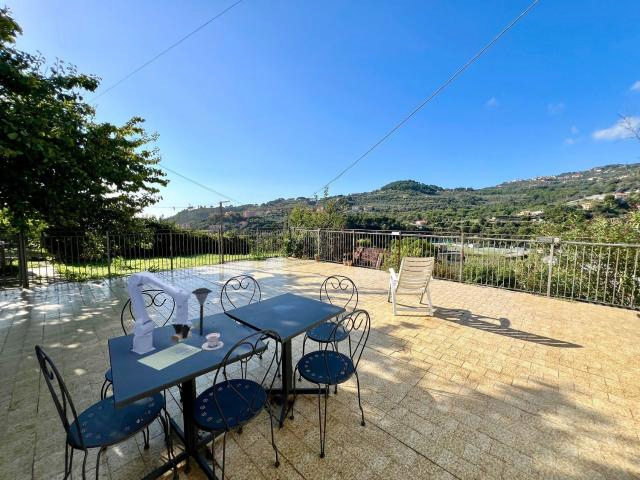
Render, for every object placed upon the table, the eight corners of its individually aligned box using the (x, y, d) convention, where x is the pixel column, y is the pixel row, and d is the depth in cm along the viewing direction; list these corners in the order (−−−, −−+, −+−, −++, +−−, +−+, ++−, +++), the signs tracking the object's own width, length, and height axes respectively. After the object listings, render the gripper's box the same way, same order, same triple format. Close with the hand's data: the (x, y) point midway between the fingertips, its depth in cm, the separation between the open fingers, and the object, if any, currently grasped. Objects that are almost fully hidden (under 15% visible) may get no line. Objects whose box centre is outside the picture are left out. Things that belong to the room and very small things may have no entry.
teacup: (215, 351, 148) (215, 341, 148) (196, 349, 151) (197, 338, 151) (227, 343, 160) (227, 333, 160) (209, 340, 163) (210, 330, 162)
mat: (136, 361, 135) (136, 360, 135) (181, 343, 157) (181, 342, 157) (159, 371, 127) (159, 369, 127) (202, 350, 149) (202, 349, 149)
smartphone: (202, 323, 189) (187, 330, 174) (202, 325, 189) (187, 332, 174) (194, 322, 190) (178, 329, 176) (194, 323, 191) (178, 331, 176)
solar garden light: (206, 339, 163) (207, 291, 162) (186, 338, 164) (187, 291, 162) (214, 331, 176) (215, 287, 174) (196, 331, 176) (197, 286, 175)
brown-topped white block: (186, 335, 151) (186, 330, 151) (191, 337, 149) (191, 332, 149) (171, 341, 143) (171, 336, 143) (176, 343, 141) (176, 337, 141)
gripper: (166, 312, 145) (166, 336, 146) (184, 317, 139) (184, 342, 139) (178, 309, 151) (178, 332, 152) (196, 313, 145) (195, 337, 146)
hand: (181, 337), depth 146 cm, fingers closed on brown-topped white block, 4 cm apart
